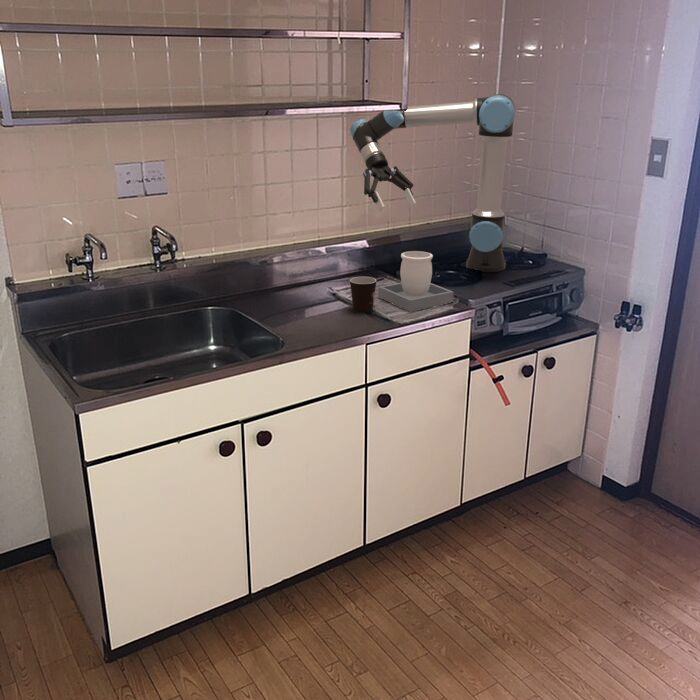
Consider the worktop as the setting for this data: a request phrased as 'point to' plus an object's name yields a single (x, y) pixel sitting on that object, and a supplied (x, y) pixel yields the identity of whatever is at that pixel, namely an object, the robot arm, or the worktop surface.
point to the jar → (416, 273)
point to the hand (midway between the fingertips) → (398, 207)
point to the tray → (434, 298)
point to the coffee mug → (363, 293)
